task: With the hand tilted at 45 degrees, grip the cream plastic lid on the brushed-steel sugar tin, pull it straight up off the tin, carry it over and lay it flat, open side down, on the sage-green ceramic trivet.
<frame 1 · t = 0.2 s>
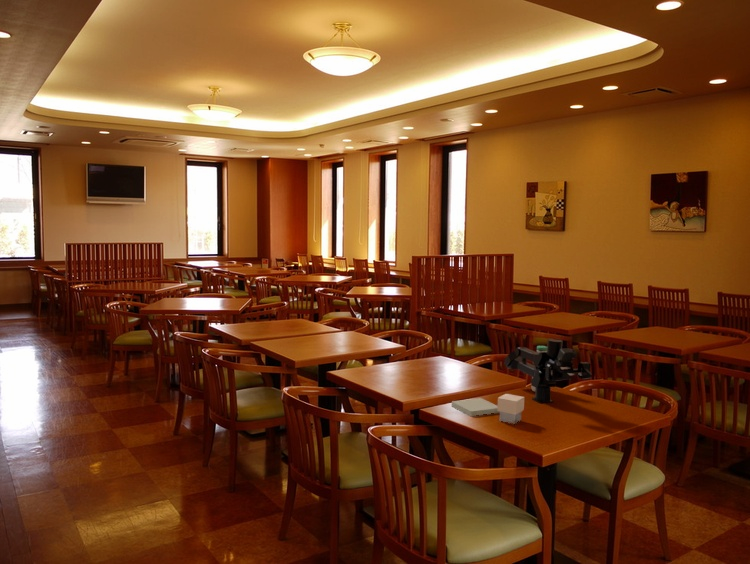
hand: (581, 376, 230), 17 cm above the table, tool horizontal, fingers open, 9 cm apart
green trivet: (475, 409, 242), on the table
milk bottle: (540, 391, 271), on the table
cream lid: (510, 410, 228), point 4 cm above the table, touching steel tin
steel tin: (510, 420, 229), on the table
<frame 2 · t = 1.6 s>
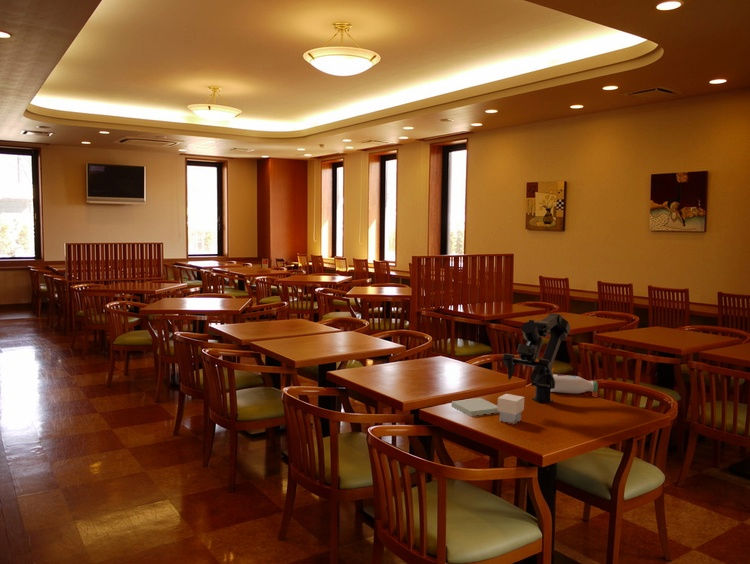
hand: (520, 381, 234), 14 cm above the table, tool tilted 45°, fingers open, 9 cm apart
milk bottle: (549, 382, 270), point 4 cm above the table
everything else where it was.
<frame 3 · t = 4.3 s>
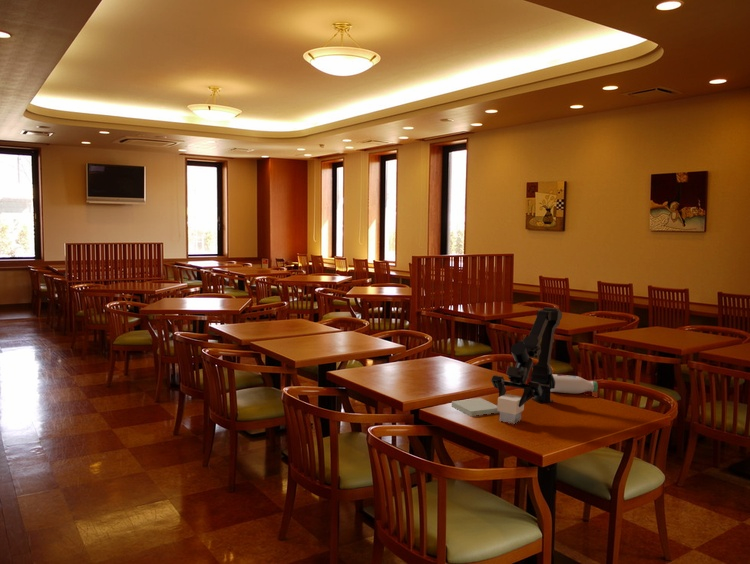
hand: (509, 404, 227), 7 cm above the table, tool tilted 45°, fingers closed on cream lid, 7 cm apart
cream lid: (510, 410, 228), point 4 cm above the table, touching gripper, steel tin
everything else where it was.
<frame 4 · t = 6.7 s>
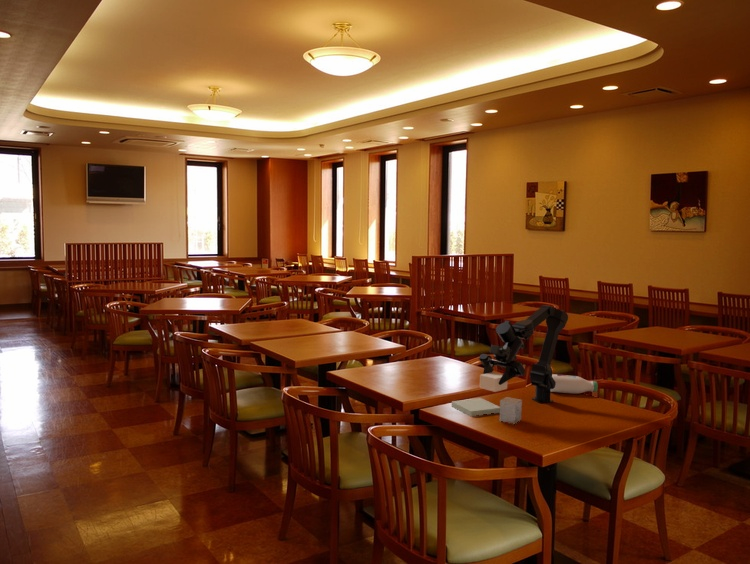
hand: (491, 382, 232), 14 cm above the table, tool tilted 45°, fingers closed on cream lid, 7 cm apart
cream lid: (493, 388, 233), point 11 cm above the table, touching gripper
everything else where it was.
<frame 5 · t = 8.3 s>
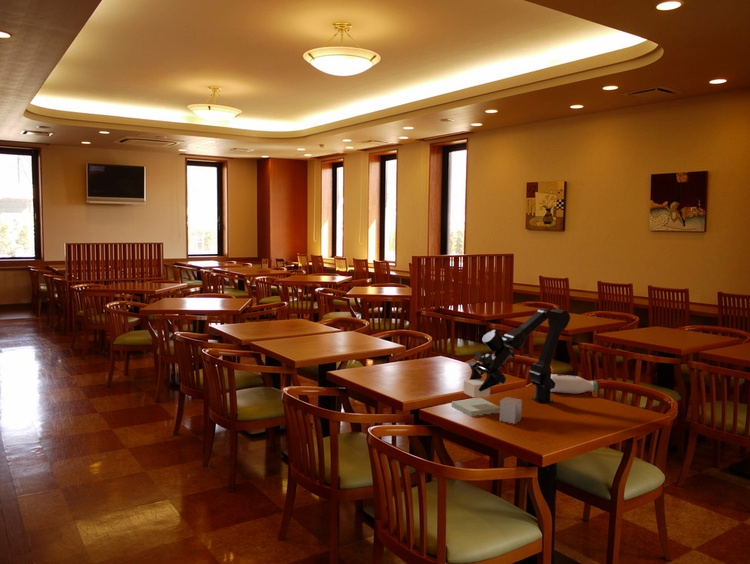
hand: (474, 388, 240), 9 cm above the table, tool tilted 45°, fingers closed on cream lid, 7 cm apart
cream lid: (476, 394, 241), point 6 cm above the table, touching gripper
everything else where it was.
when the fingers open (7 cm above the table, at t = 9.3 s): cream lid drops 2 cm, resting on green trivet.
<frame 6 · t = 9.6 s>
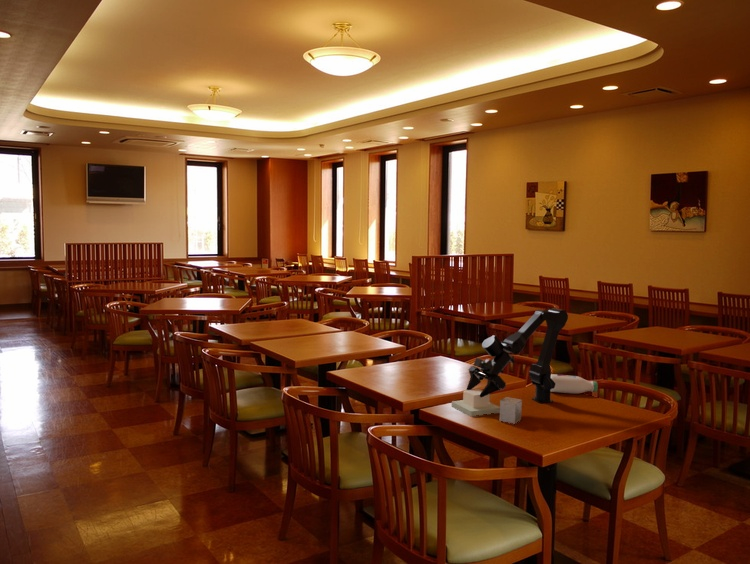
hand: (473, 393, 241), 7 cm above the table, tool tilted 45°, fingers open, 9 cm apart
cream lid: (476, 404, 242), point 2 cm above the table, touching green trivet
everything else where it was.
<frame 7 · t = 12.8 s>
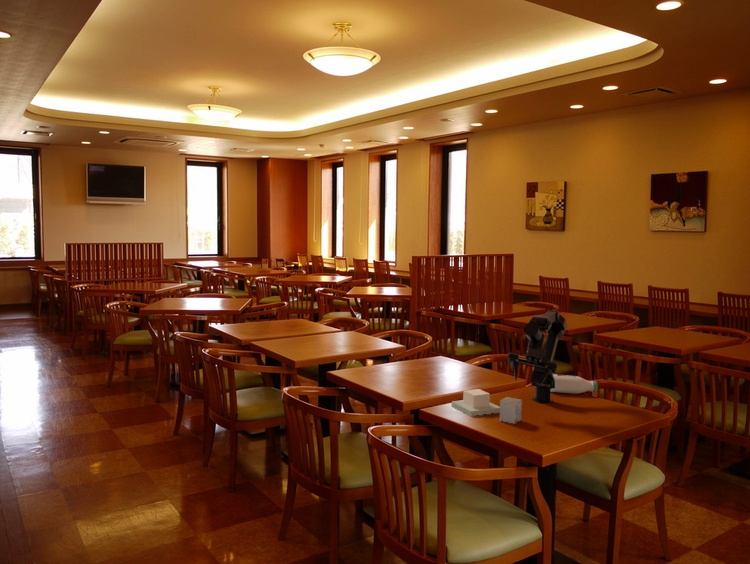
hand: (527, 383, 236), 12 cm above the table, tool tilted 30°, fingers open, 9 cm apart
nothing on the table moved.
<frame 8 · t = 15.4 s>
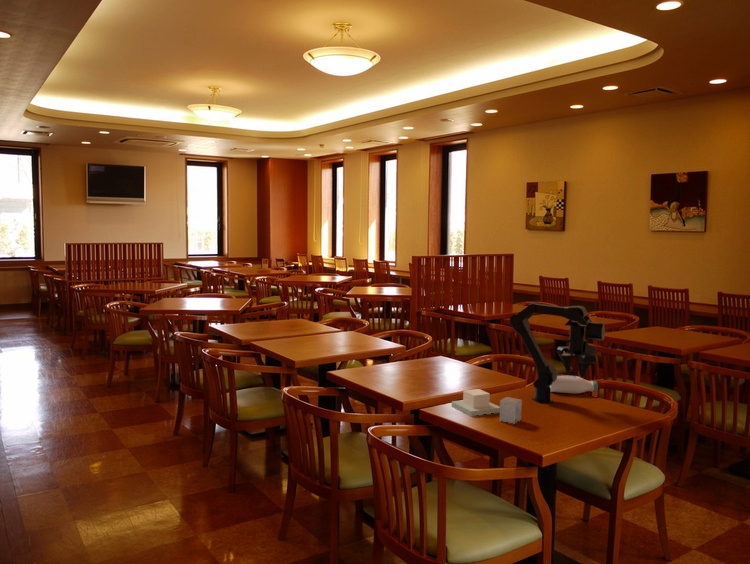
hand: (574, 375, 247), 13 cm above the table, tool pointing down, fingers open, 9 cm apart
nothing on the table moved.
at the end: cream lid inside the target area on the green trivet (0.0 cm from its centre), point 2.0 cm above the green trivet's base; cream lid tilted 0°; the gripper is holding nothing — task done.
